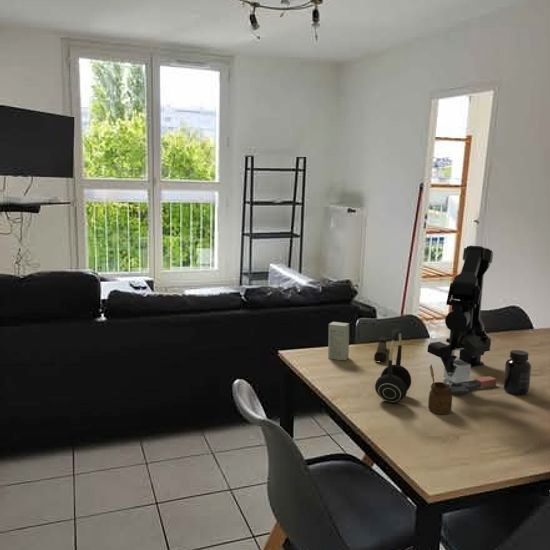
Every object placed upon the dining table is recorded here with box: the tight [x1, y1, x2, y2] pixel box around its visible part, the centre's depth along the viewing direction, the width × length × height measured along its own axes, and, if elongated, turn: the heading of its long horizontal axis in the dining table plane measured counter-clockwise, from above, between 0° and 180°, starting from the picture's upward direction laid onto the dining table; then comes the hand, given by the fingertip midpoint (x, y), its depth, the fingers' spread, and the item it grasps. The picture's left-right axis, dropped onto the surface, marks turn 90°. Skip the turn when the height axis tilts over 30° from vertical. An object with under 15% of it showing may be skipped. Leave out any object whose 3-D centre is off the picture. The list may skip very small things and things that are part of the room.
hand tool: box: [373, 335, 388, 363], centre depth 184 cm, size 19×4×5 cm, turn 163°
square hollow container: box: [443, 358, 472, 383], centre depth 152 cm, size 5×5×5 cm
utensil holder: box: [427, 364, 454, 415], centre depth 138 cm, size 6×6×12 cm
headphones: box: [374, 328, 412, 403], centre depth 145 cm, size 9×15×20 cm, turn 157°
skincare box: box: [327, 321, 350, 361], centre depth 178 cm, size 6×4×12 cm
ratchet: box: [442, 375, 497, 396], centre depth 155 cm, size 18×7×5 cm, turn 114°
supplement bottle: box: [503, 349, 532, 396], centre depth 152 cm, size 7×7×12 cm
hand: (456, 374), depth 152 cm, fingers closed on square hollow container, 5 cm apart
